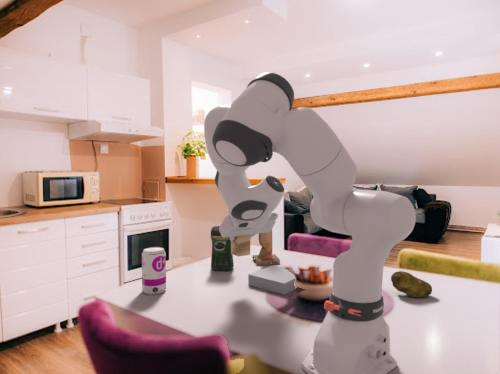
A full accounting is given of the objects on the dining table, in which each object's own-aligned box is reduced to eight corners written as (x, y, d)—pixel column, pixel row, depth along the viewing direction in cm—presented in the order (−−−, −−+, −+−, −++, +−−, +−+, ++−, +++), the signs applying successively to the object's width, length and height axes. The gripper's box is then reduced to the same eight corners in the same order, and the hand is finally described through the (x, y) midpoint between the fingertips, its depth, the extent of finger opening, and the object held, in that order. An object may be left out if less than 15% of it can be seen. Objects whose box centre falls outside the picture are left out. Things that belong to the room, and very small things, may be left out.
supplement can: (170, 290, 125) (170, 249, 124) (150, 297, 119) (149, 253, 118) (158, 285, 131) (157, 245, 130) (137, 291, 125) (137, 249, 124)
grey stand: (284, 294, 121) (284, 283, 121) (248, 284, 132) (248, 274, 131) (307, 282, 134) (307, 272, 134) (273, 274, 144) (273, 265, 144)
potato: (431, 302, 115) (432, 278, 114) (389, 296, 120) (390, 273, 120) (431, 294, 122) (432, 271, 122) (392, 288, 128) (392, 267, 127)
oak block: (250, 254, 125) (250, 226, 125) (238, 256, 123) (238, 228, 122) (242, 251, 129) (242, 224, 129) (231, 253, 127) (231, 225, 126)
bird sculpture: (250, 260, 168) (248, 193, 165) (274, 257, 170) (272, 192, 168) (256, 266, 157) (255, 195, 154) (281, 264, 160) (280, 194, 157)
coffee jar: (235, 266, 155) (235, 225, 154) (230, 272, 147) (230, 228, 146) (214, 265, 157) (214, 224, 156) (208, 270, 149) (208, 227, 148)
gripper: (276, 206, 125) (260, 229, 134) (225, 209, 114) (211, 234, 122) (283, 220, 121) (266, 242, 130) (232, 225, 110) (217, 249, 119)
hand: (239, 238), depth 126 cm, fingers closed on oak block, 5 cm apart
